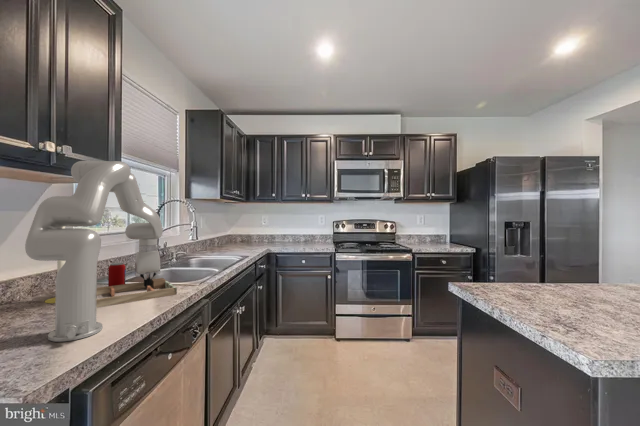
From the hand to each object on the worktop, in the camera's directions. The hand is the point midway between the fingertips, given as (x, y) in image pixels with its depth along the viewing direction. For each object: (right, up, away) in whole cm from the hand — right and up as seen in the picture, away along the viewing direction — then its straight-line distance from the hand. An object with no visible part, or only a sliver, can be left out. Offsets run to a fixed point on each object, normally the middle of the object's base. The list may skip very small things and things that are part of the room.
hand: (147, 287), depth 138 cm
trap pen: (-1, -1, -9) cm, 10 cm away
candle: (-26, -1, -17) cm, 31 cm away
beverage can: (-16, -1, +2) cm, 16 cm away
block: (+3, -1, +4) cm, 5 cm away
